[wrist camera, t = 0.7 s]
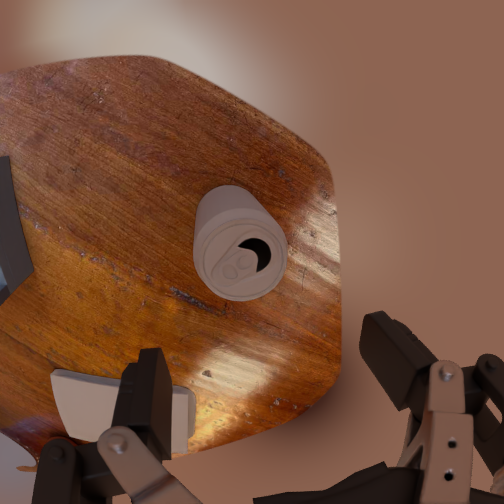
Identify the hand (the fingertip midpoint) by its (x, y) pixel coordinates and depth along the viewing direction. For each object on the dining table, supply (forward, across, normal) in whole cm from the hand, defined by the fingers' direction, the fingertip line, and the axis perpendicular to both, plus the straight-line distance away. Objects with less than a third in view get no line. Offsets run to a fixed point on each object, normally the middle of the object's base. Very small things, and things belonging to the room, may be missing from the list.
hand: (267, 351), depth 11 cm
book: (+20, +20, +28) cm, 40 cm away
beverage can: (+20, 0, 0) cm, 21 cm away
